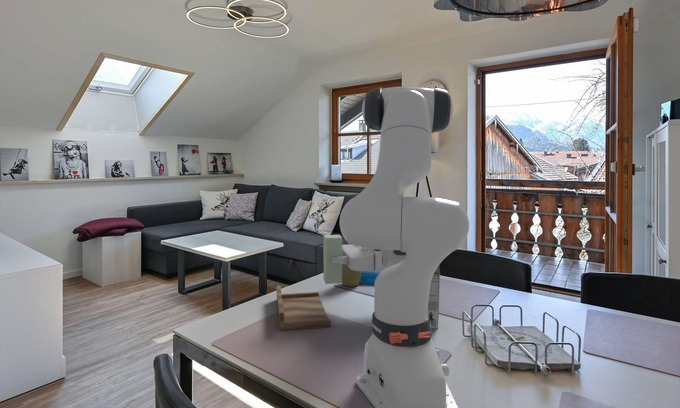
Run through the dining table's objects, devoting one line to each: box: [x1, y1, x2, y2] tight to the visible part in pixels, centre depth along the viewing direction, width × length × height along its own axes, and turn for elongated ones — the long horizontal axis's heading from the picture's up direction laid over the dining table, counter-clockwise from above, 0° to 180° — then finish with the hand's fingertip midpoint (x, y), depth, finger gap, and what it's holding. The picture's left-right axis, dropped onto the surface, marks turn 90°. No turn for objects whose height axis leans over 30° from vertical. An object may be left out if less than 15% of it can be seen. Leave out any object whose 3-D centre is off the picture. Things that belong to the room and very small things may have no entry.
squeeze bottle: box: [341, 242, 361, 287], centre depth 149 cm, size 8×8×18 cm
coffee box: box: [428, 265, 441, 329], centre depth 115 cm, size 9×6×16 cm
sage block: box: [322, 234, 343, 285], centre depth 123 cm, size 5×5×14 cm
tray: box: [276, 284, 331, 332], centre depth 123 cm, size 25×14×5 cm, turn 11°
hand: (329, 257), depth 123 cm, fingers closed on sage block, 5 cm apart
